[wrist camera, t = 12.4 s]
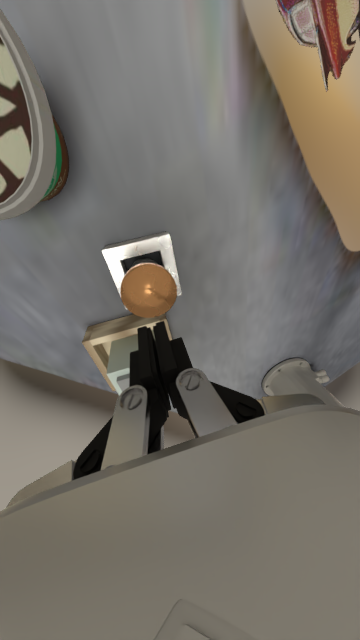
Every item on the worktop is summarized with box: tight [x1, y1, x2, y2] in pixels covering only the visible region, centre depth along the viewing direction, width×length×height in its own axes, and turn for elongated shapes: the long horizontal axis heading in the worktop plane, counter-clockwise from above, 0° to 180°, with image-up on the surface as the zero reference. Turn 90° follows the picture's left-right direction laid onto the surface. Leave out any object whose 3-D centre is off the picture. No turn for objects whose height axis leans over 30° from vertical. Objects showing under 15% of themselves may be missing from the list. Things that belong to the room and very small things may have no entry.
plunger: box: [120, 258, 177, 318], centre depth 21 cm, size 6×6×6 cm
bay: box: [82, 313, 172, 391], centre depth 31 cm, size 12×11×4 cm
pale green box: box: [107, 330, 155, 395], centre depth 28 cm, size 5×7×8 cm
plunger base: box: [102, 231, 182, 310], centre depth 25 cm, size 8×8×3 cm
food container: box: [0, 9, 69, 220], centre depth 15 cm, size 12×6×10 cm, turn 134°
